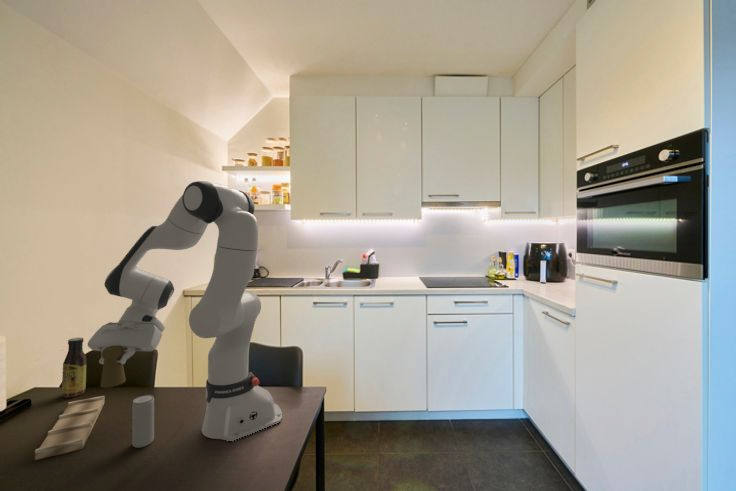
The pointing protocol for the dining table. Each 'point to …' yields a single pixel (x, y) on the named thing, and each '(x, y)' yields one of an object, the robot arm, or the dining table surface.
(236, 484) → the dining table surface
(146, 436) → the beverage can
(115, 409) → the dining table surface
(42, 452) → the ledge board
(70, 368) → the sauce bottle
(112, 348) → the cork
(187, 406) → the dining table surface
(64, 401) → the dining table surface
